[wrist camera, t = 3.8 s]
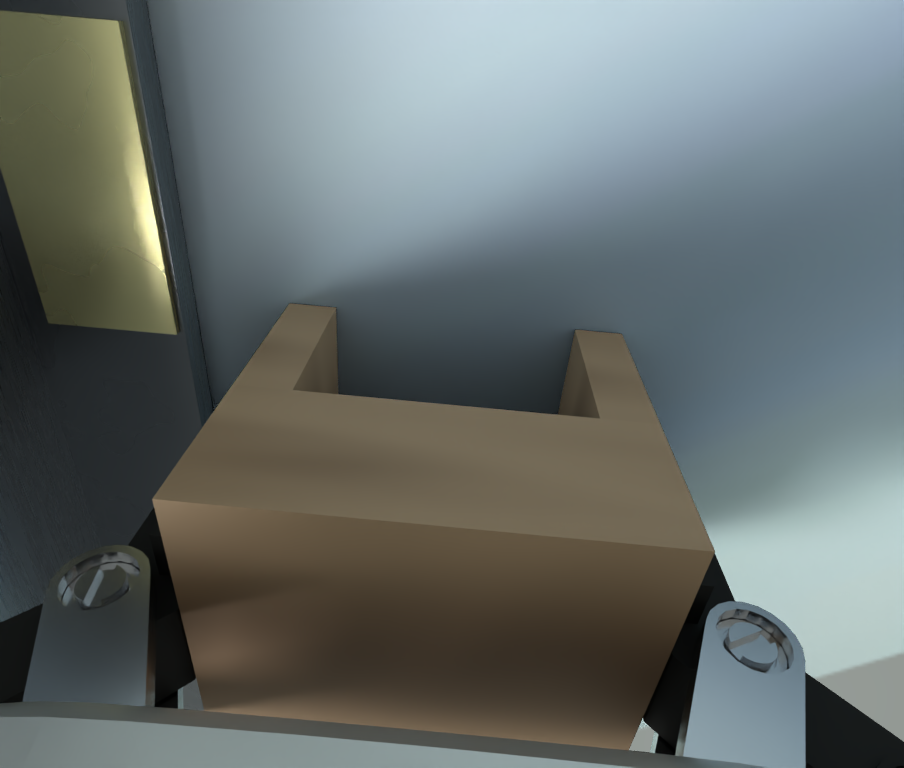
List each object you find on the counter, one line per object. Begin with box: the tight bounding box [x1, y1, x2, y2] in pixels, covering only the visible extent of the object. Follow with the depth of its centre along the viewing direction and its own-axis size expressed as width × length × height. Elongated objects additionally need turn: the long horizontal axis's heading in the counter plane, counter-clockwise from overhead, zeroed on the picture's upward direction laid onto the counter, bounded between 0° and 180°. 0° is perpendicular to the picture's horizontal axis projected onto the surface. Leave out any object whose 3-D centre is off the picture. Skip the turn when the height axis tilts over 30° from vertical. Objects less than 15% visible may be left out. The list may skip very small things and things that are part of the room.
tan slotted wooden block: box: [152, 303, 715, 750], centre depth 11 cm, size 6×6×6 cm
